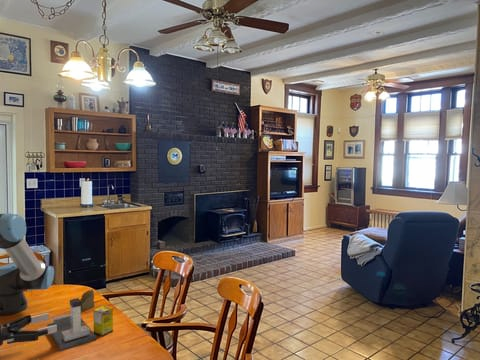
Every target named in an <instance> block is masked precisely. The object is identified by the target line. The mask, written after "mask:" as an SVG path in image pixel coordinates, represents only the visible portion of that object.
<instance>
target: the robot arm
mask: <svg viewBox="0 0 480 360" xmlns="http://www.w3.org/2000/svg"><path fill="white" fill-rule="evenodd" d="M26 222H27V221H25V219H24V218H23V217H22V216H21V215H20V214H17V213H16V214H15V213H9V212H8V213H0V249H1V250H4V251H5V252H6V254H7V255H8V256H9V258H10V259H11V260H12V262H11V263H7V264H4V265H1V266H0V316H11V315H14V314H18V313H21V312H23V311H25V310H26V309H27V308H28V307H29V305H28V300H27V298H26V295H25V293H24V290H26V291H27V290H29V291H31V290H38V291H39V290H40V291H43V290H47V289H49V288H50V287H51V286H52V284H53V281H54V279H55V278H54V277H55V276H54V275H55V269H54V266H53V265H46V264H45V262H43V261H42V260H40V259H38V258H37V256H36V255H35V254H34V252H33V250H32V249H31V247H30V246H29V244H28V242H27V241H26V240H25V236H26V234H27V223H26ZM49 320H50V313H49V312H47V313H42V314H38V315H33V316H32V315H31V314H29V315H28V314H27V315H24V316H22V317H20V318H17V319H15V320H12V321H10V322H7V323H3V324H2V325H1V324H0V347H1V346H3V344H4V341H6V344H7V345H9V344H15V343H25V342H26V343H27V342H36V341H38V340H39V338H40V337H43V336H46V335H51V333H55V332H57V325H53V326H49V327H47V326H46V327H41V328H38V329H37V330H22V329H24V327H26V326H28V325H30V324H31V325H33V324H37V323H42V322H45V321H49Z"/></svg>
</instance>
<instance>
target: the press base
mask: <svg viewBox="0 0 480 360" xmlns="http://www.w3.org/2000/svg"><path fill="white" fill-rule="evenodd" d="M53 325H57V332H55V333H51V334H50V336H51V337H52V338H53V341H54V342H55V345H57V347H58V349H59V351H64V350H66V349H70V348H74V347H77V346H81V345H83V344H88V343H91V342H94V341H96V340H97V336H96V335H97V334H95V333H94V330H92V329H91V328H90V327H89V325H88V324H87V323H86V322H85V321H84V319H83V318H82V317H81V326H85V325H87V327H88V328H89V329H90V335H87V336H84V337H80V338H77V339H73V340H70V341H66V342H64V340H63V339H62V331H66V330H70V329H71V314H70V313H67V314H62V315H58V316H55V317H52V322H51V323H47V324H46V327H49V326H53Z"/></svg>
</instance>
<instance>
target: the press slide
mask: <svg viewBox="0 0 480 360" xmlns="http://www.w3.org/2000/svg"><path fill="white" fill-rule="evenodd" d="M80 300H81V298H78V297H77V298H71V299H69V308H70V313H69V314H71V329H70V330H66V331H62V339H63V340H64V342H66V341H70V340H73V339H77V338H80V337H84V336H87V335H90V329H91V328H90V327H89V326H88V324H87V325H85V326H81V318H82V315H81V314H82V313H81V301H80ZM87 326H88V327H89V328H90V329H89V328H88V327H87Z"/></svg>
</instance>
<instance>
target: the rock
mask: <svg viewBox="0 0 480 360" xmlns="http://www.w3.org/2000/svg"><path fill="white" fill-rule="evenodd" d="M80 301H81V312H84V311H87V310H90V309H92V308H94V307H95V293H94V290H93V289H89V290H87V291H85V292H83V293H82V295H81V298H80Z"/></svg>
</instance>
